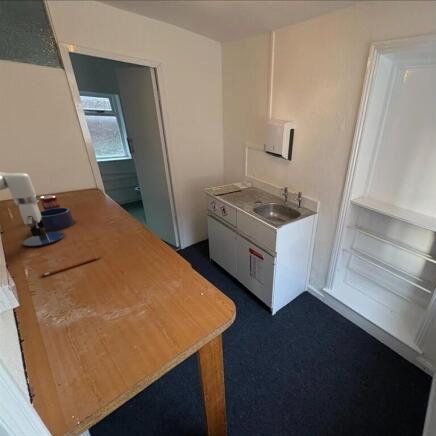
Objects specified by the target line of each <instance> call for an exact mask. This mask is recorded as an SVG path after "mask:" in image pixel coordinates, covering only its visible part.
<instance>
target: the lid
mask: <svg viewBox="0 0 436 436" xmlns="http://www.w3.org/2000/svg"><path fill="white" fill-rule="evenodd" d="M40 230H41V232H42V235H41V236H35V237H33V236H31V237H28V238H27V239H25V240H24V241H23V242H22V244H23V246H25V247H30V248H31V247H33V248H34V247H40V246H45V245H46V246H47V245H49V244H53V243H55V242H57V241H60V240H61V239H63V238H64V236H65V234H64V233H63V232H61V231H48V232H46V230H45V229H44V228H43V227H41V228H40Z"/></svg>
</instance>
